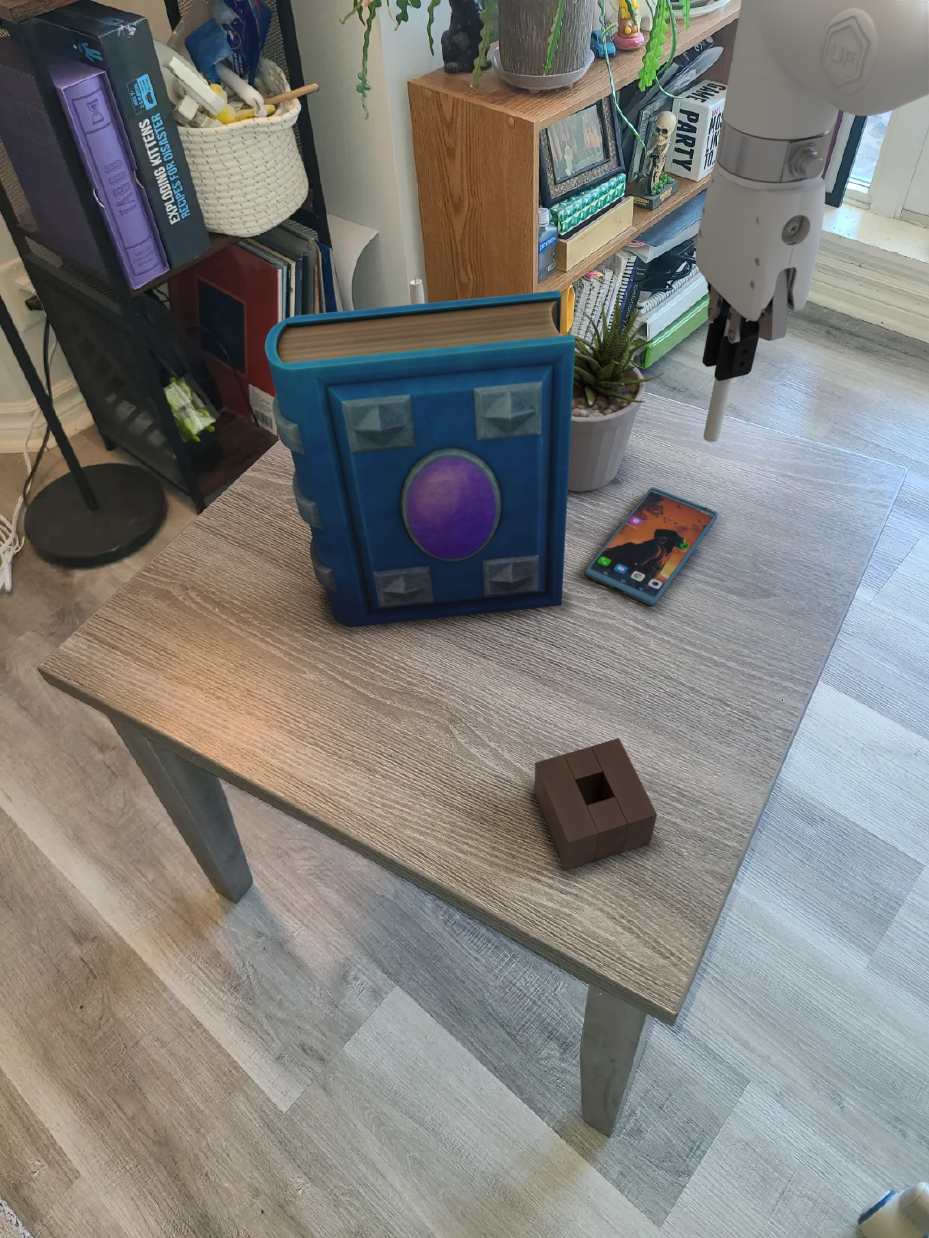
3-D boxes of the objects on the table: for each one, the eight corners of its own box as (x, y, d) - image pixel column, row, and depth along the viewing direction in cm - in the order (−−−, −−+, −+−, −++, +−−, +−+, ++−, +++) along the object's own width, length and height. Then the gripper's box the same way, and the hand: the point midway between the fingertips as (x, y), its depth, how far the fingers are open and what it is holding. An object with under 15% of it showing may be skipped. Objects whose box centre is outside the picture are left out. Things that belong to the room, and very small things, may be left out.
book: (322, 641, 89) (253, 384, 65) (322, 576, 94) (259, 318, 71) (564, 616, 89) (580, 353, 66) (550, 553, 95) (560, 290, 72)
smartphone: (582, 571, 92) (651, 484, 99) (582, 579, 93) (650, 494, 100) (654, 601, 88) (720, 510, 96) (654, 610, 89) (719, 519, 97)
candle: (397, 391, 114) (383, 278, 102) (427, 373, 116) (416, 260, 104) (425, 408, 112) (413, 294, 100) (455, 390, 114) (447, 275, 102)
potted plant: (617, 522, 97) (634, 364, 82) (505, 484, 102) (502, 328, 87) (661, 455, 104) (685, 297, 88) (554, 422, 109) (559, 267, 93)
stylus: (714, 431, 83) (741, 303, 73) (721, 440, 82) (750, 312, 72) (700, 434, 83) (725, 307, 73) (707, 443, 82) (734, 316, 72)
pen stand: (614, 768, 78) (619, 737, 74) (650, 843, 73) (657, 814, 69) (534, 792, 77) (534, 762, 73) (565, 870, 72) (568, 842, 68)
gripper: (885, 183, 58) (813, 412, 73) (764, 95, 68) (721, 313, 82) (782, 204, 57) (730, 433, 71) (674, 112, 67) (646, 330, 81)
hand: (726, 368), depth 77 cm, fingers closed on stylus, 1 cm apart
